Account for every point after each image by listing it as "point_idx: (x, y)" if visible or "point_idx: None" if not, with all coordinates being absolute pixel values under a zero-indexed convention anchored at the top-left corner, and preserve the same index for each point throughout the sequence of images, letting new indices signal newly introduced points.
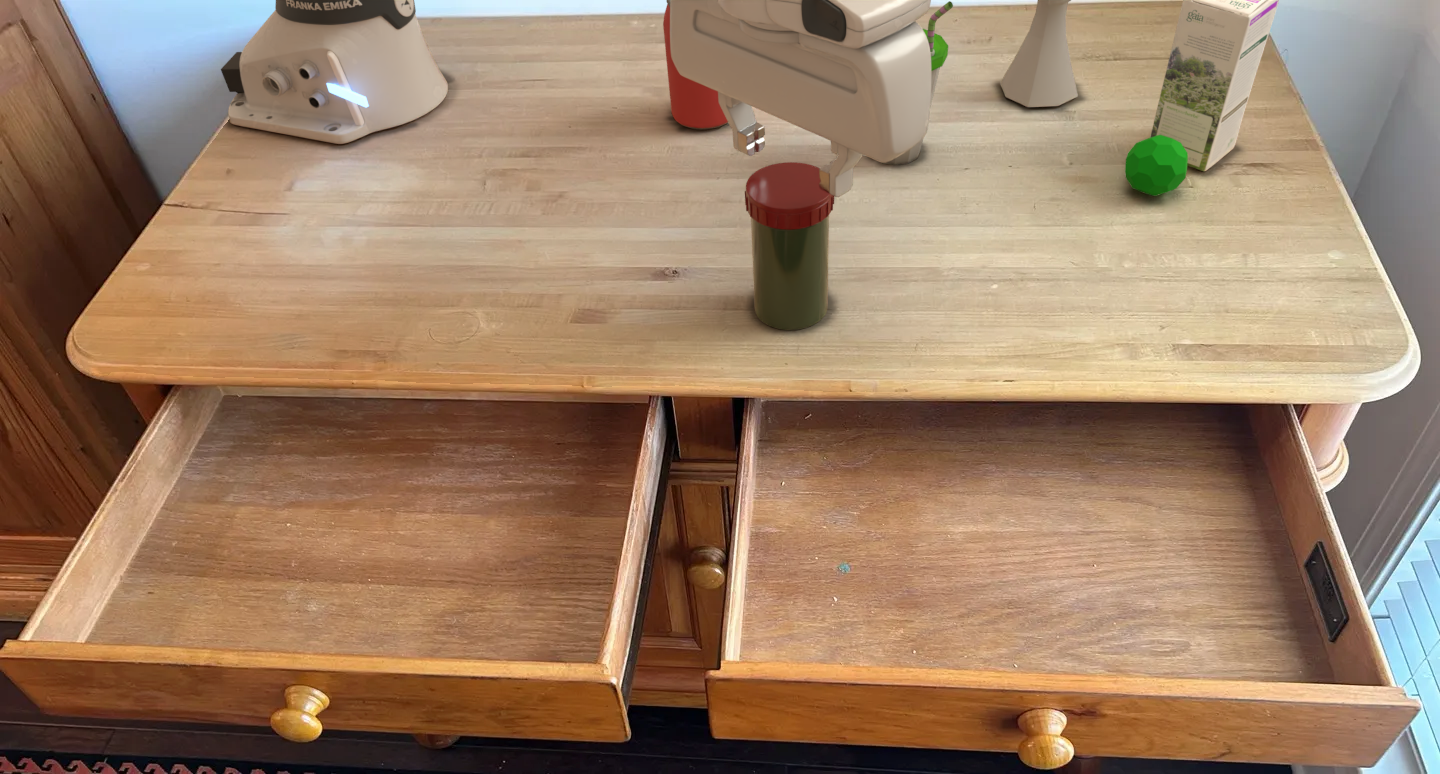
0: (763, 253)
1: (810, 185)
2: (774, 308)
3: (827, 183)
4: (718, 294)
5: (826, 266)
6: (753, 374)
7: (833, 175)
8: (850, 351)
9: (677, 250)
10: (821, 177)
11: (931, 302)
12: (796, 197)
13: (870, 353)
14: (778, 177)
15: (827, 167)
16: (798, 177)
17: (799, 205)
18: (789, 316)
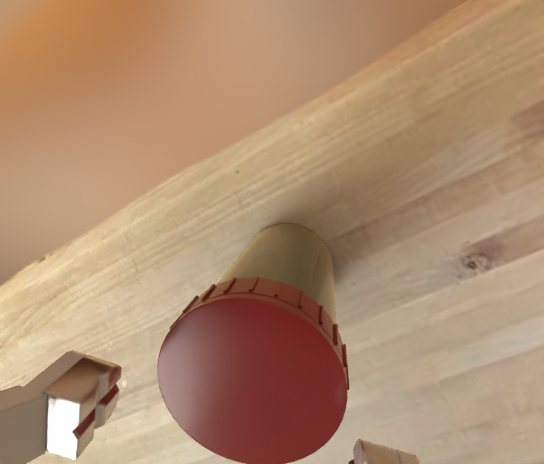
0: (284, 261)
1: (208, 399)
2: (279, 231)
3: (76, 372)
4: (386, 249)
5: None
6: (260, 133)
7: (29, 387)
8: (187, 227)
9: (494, 308)
10: (87, 384)
11: (160, 338)
12: (208, 352)
13: (168, 234)
14: (285, 404)
15: (66, 416)
16: (246, 416)
17: (185, 328)
18: (262, 233)
